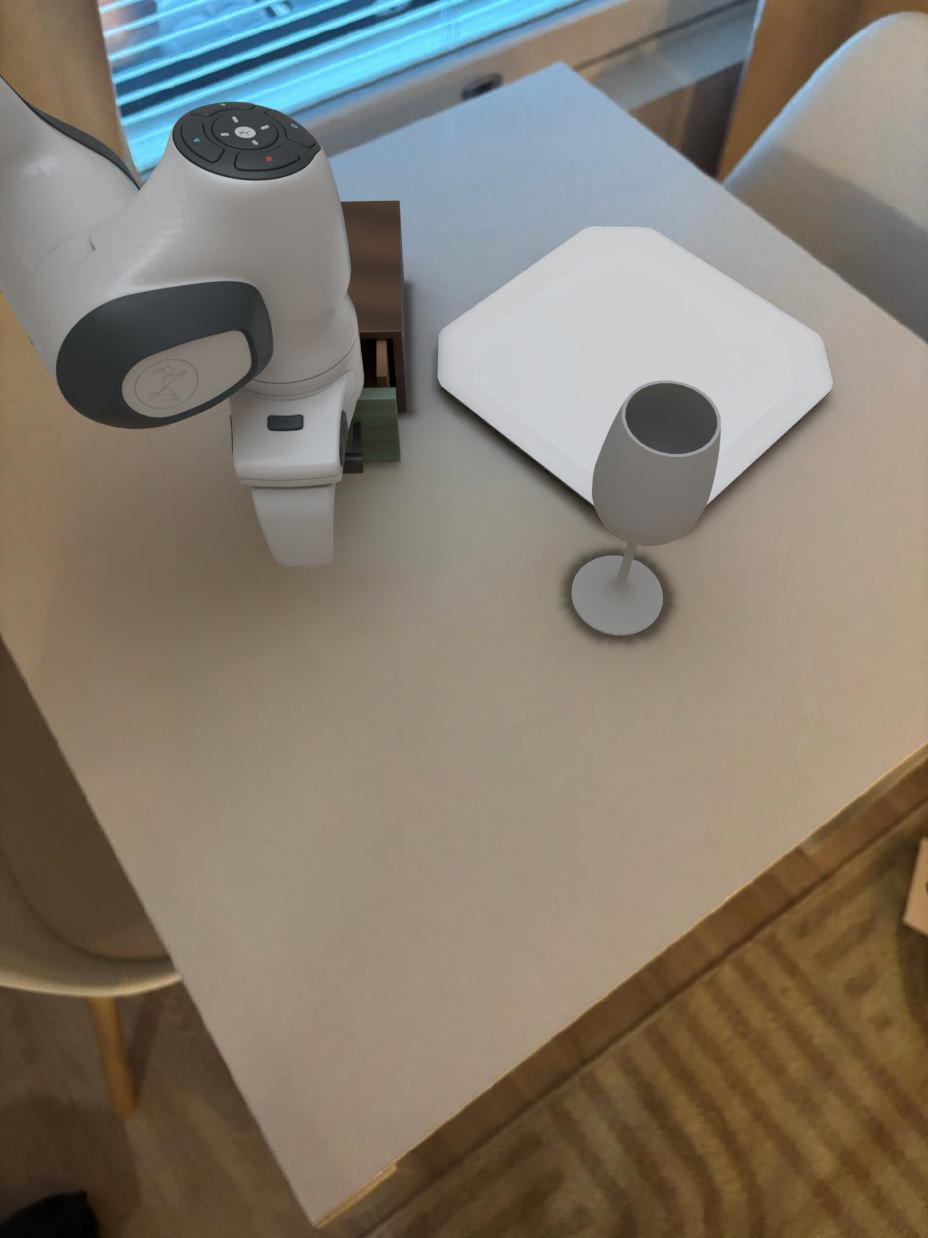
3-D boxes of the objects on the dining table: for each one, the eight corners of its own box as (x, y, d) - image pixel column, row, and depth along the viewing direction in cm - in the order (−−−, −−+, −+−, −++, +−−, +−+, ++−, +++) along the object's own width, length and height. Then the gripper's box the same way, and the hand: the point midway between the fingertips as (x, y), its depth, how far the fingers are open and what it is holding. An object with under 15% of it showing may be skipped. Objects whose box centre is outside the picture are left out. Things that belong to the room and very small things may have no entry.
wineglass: (638, 543, 77) (697, 356, 58) (681, 620, 73) (759, 447, 55) (553, 571, 75) (586, 388, 57) (593, 651, 72) (642, 484, 53)
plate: (613, 221, 95) (616, 202, 93) (854, 376, 85) (863, 359, 84) (403, 371, 85) (402, 353, 83) (650, 566, 75) (655, 551, 74)
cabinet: (407, 412, 83) (402, 330, 74) (251, 416, 82) (228, 334, 74) (404, 286, 90) (399, 199, 82) (261, 289, 90) (242, 202, 81)
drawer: (401, 507, 77) (396, 445, 70) (248, 511, 76) (228, 450, 70) (398, 335, 86) (394, 266, 79) (262, 338, 86) (245, 269, 79)
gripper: (254, 251, 65) (285, 390, 77) (230, 492, 55) (270, 608, 67) (345, 249, 65) (362, 388, 77) (338, 490, 55) (359, 605, 67)
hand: (319, 492), depth 72 cm, fingers closed
